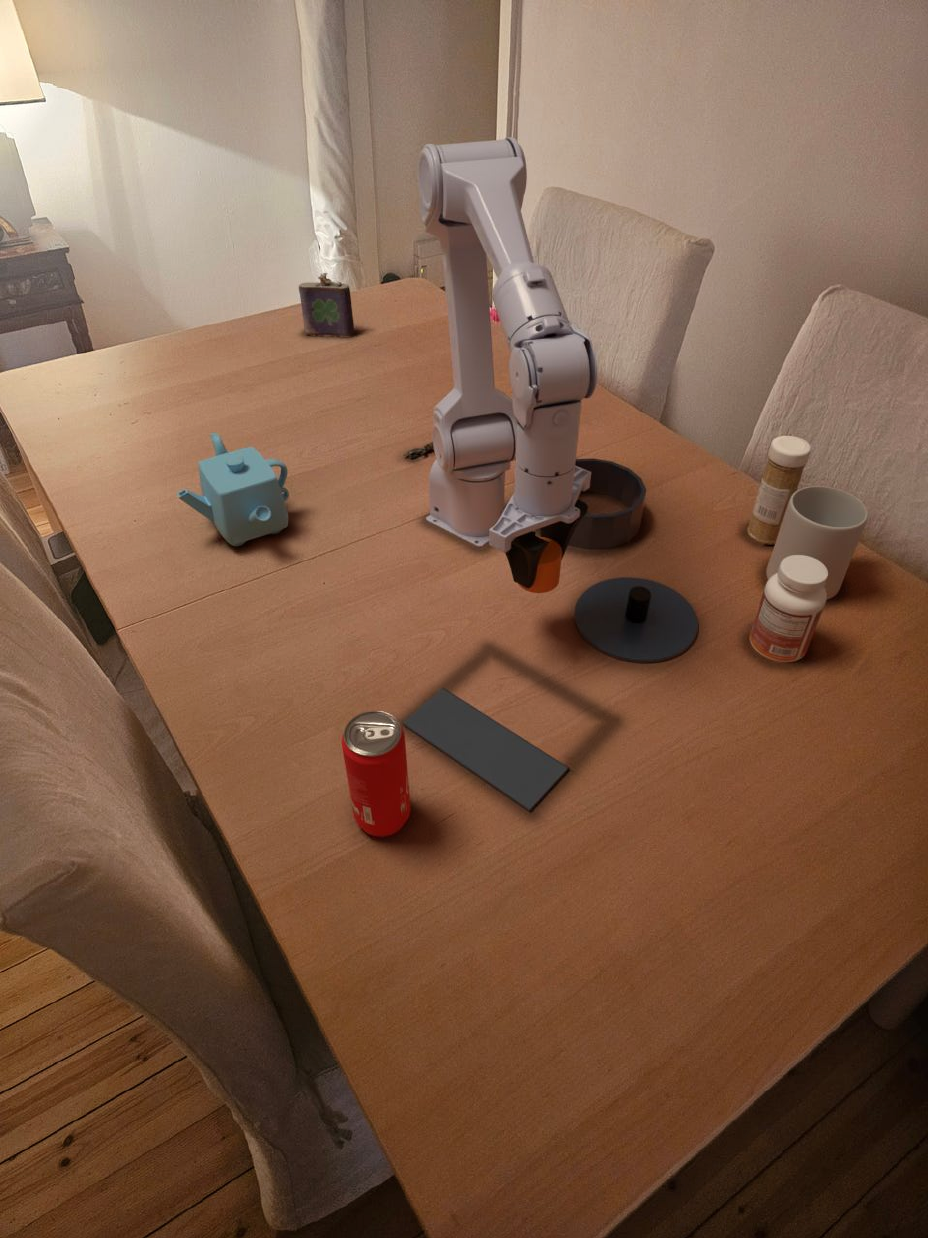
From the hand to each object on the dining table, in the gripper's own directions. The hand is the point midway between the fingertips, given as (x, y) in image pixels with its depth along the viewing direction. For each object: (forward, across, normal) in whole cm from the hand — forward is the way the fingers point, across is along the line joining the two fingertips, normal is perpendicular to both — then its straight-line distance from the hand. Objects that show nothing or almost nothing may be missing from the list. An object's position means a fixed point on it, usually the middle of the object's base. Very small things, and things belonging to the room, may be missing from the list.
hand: (537, 571), depth 87 cm
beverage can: (+9, -29, -4) cm, 30 cm away
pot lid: (+8, +8, -8) cm, 14 cm away
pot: (+8, +21, +7) cm, 24 cm away
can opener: (+8, +22, +35) cm, 42 cm away
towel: (+8, -13, -6) cm, 17 cm away
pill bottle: (+9, +15, -22) cm, 28 cm away
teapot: (+8, -8, +41) cm, 43 cm away
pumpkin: (+1, 0, 0) cm, 1 cm away
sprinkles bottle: (+9, +33, -12) cm, 37 cm away
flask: (+8, +40, +76) cm, 86 cm away
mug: (+9, +29, -20) cm, 37 cm away
